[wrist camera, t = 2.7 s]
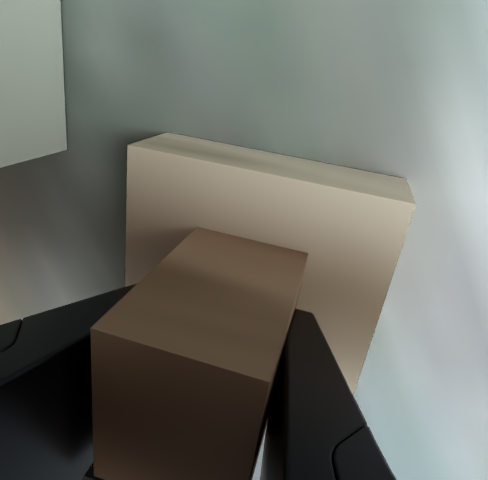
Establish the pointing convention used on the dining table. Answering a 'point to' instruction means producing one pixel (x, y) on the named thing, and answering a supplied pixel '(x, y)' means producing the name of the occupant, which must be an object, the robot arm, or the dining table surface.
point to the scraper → (231, 298)
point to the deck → (31, 80)
